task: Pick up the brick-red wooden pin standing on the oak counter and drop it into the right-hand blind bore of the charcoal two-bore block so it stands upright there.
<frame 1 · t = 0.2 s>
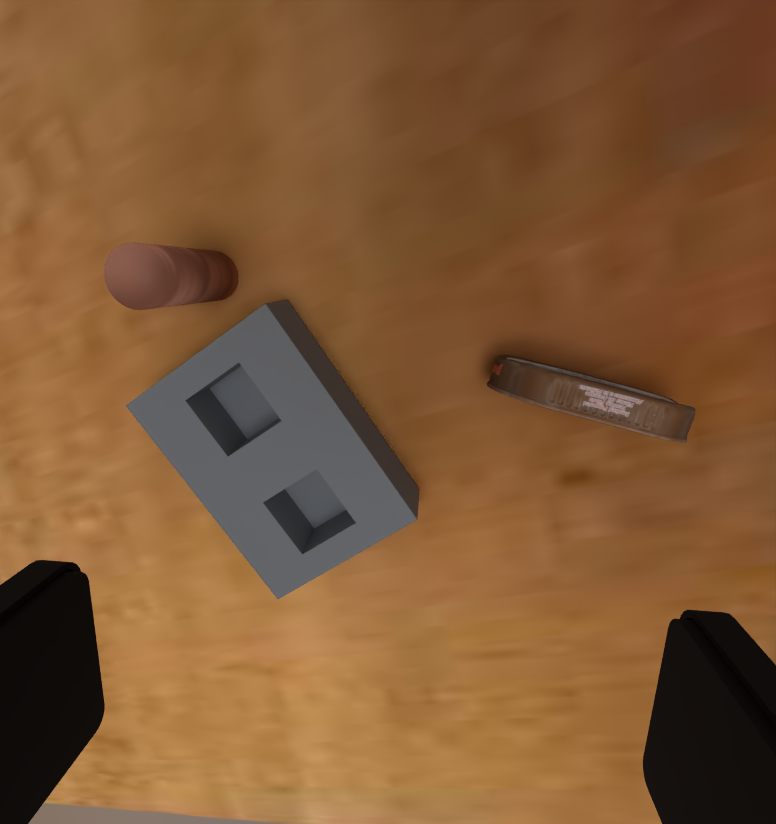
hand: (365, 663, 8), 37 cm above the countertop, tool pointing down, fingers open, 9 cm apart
tin: (573, 383, 44), on the countertop
pin: (214, 276, 44), on the countertop
bore block: (292, 439, 47), on the countertop
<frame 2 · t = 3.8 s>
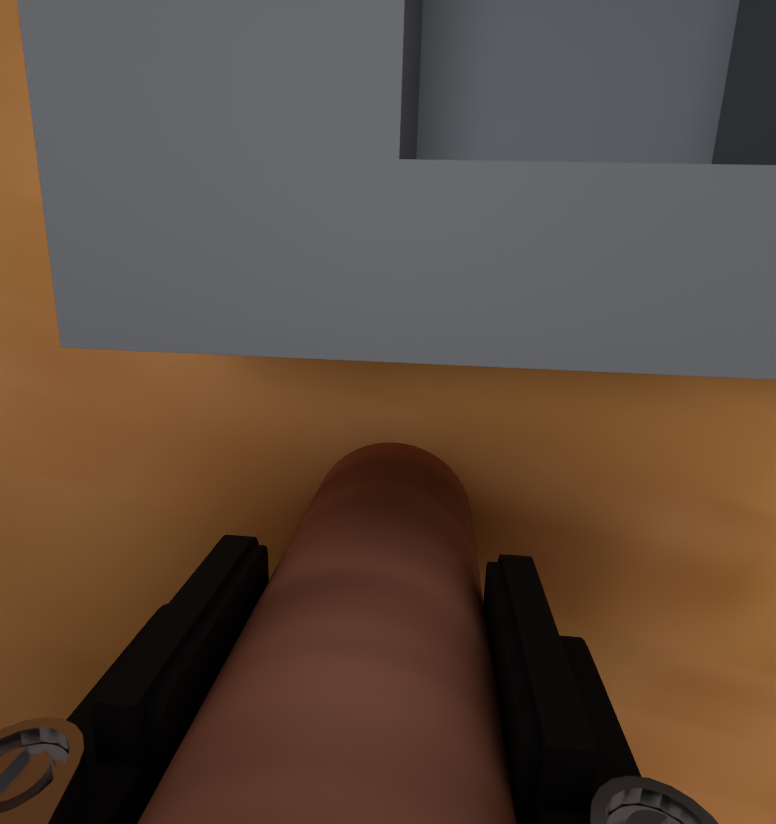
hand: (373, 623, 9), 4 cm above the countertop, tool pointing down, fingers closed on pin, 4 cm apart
pin: (391, 516, 14), on the countertop, touching gripper
when the fingers open (7 cm above the countertop, at t = 11.2 s): pin drops 1 cm, resting on bore block.
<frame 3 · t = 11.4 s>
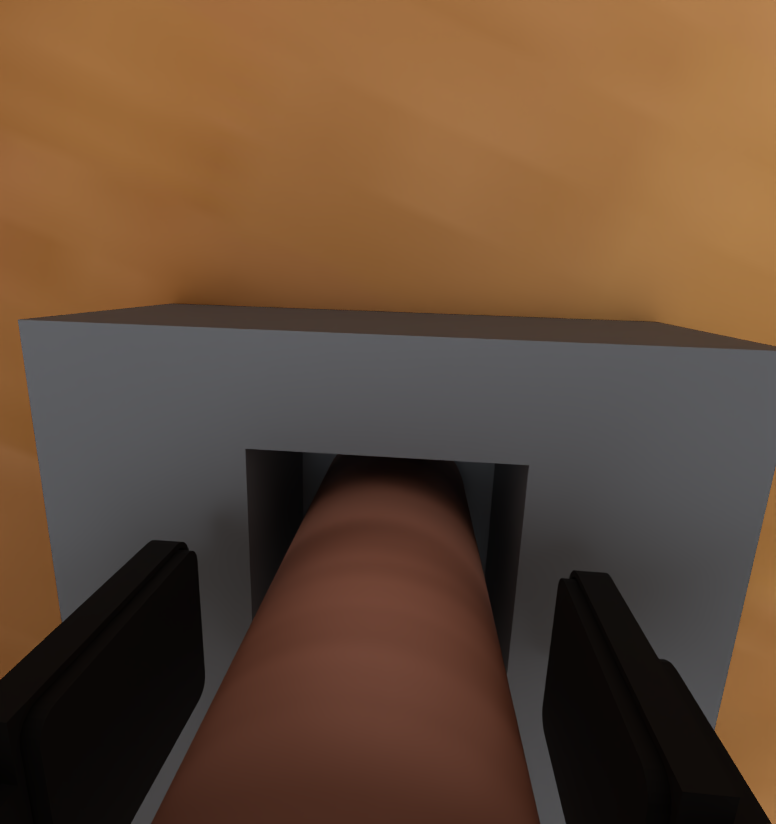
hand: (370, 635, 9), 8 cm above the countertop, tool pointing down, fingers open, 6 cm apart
pin: (393, 496, 15), point 2 cm above the countertop, touching bore block
bore block: (393, 613, 18), on the countertop
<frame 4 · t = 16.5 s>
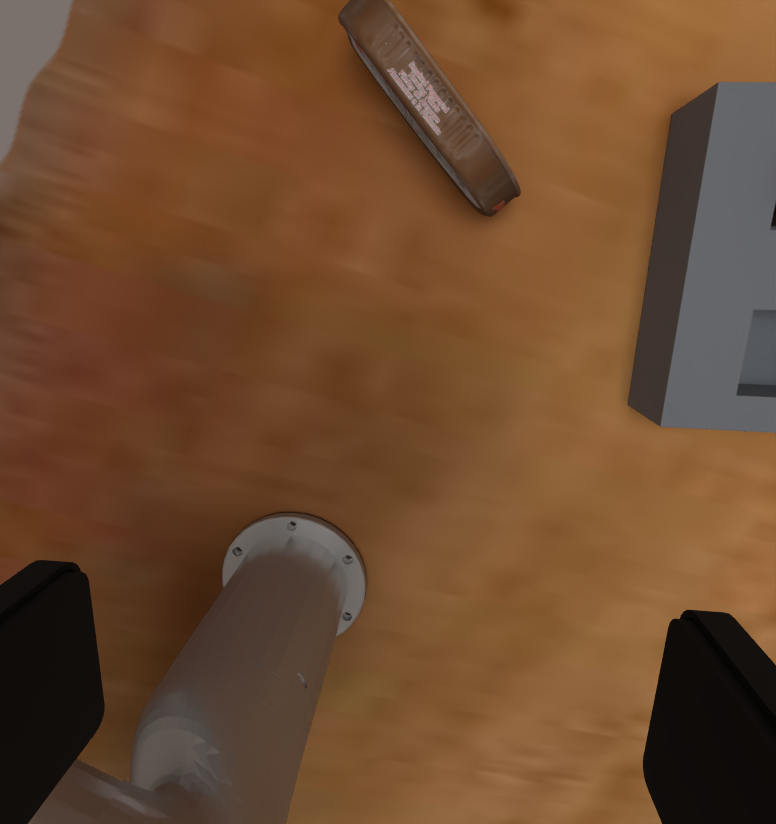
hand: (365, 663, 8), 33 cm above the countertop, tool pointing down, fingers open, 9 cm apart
tin: (430, 129, 37), on the countertop
bore block: (750, 272, 37), on the countertop
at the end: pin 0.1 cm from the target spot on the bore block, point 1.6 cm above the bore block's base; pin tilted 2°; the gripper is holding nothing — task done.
